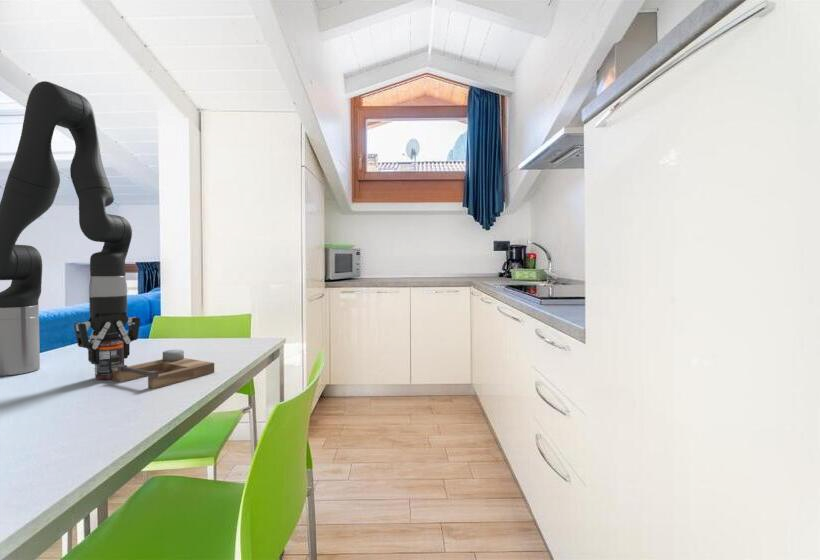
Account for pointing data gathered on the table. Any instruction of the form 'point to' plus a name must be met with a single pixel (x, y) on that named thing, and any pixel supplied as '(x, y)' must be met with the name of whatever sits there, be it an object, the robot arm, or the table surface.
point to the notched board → (172, 370)
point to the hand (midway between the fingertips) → (109, 360)
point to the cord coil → (173, 355)
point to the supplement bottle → (109, 356)
